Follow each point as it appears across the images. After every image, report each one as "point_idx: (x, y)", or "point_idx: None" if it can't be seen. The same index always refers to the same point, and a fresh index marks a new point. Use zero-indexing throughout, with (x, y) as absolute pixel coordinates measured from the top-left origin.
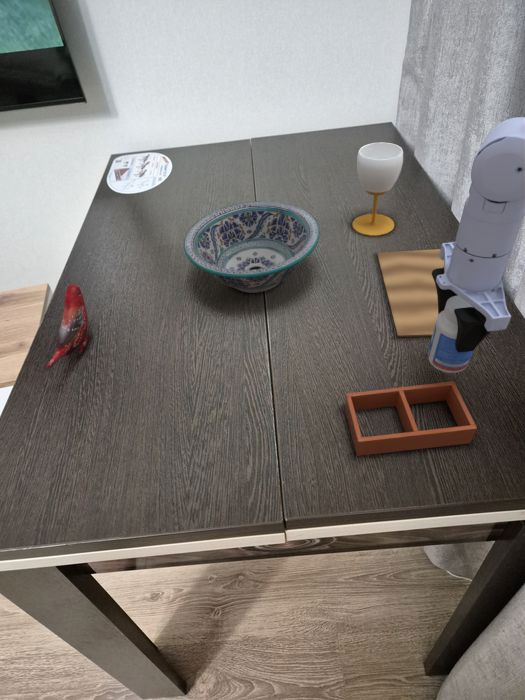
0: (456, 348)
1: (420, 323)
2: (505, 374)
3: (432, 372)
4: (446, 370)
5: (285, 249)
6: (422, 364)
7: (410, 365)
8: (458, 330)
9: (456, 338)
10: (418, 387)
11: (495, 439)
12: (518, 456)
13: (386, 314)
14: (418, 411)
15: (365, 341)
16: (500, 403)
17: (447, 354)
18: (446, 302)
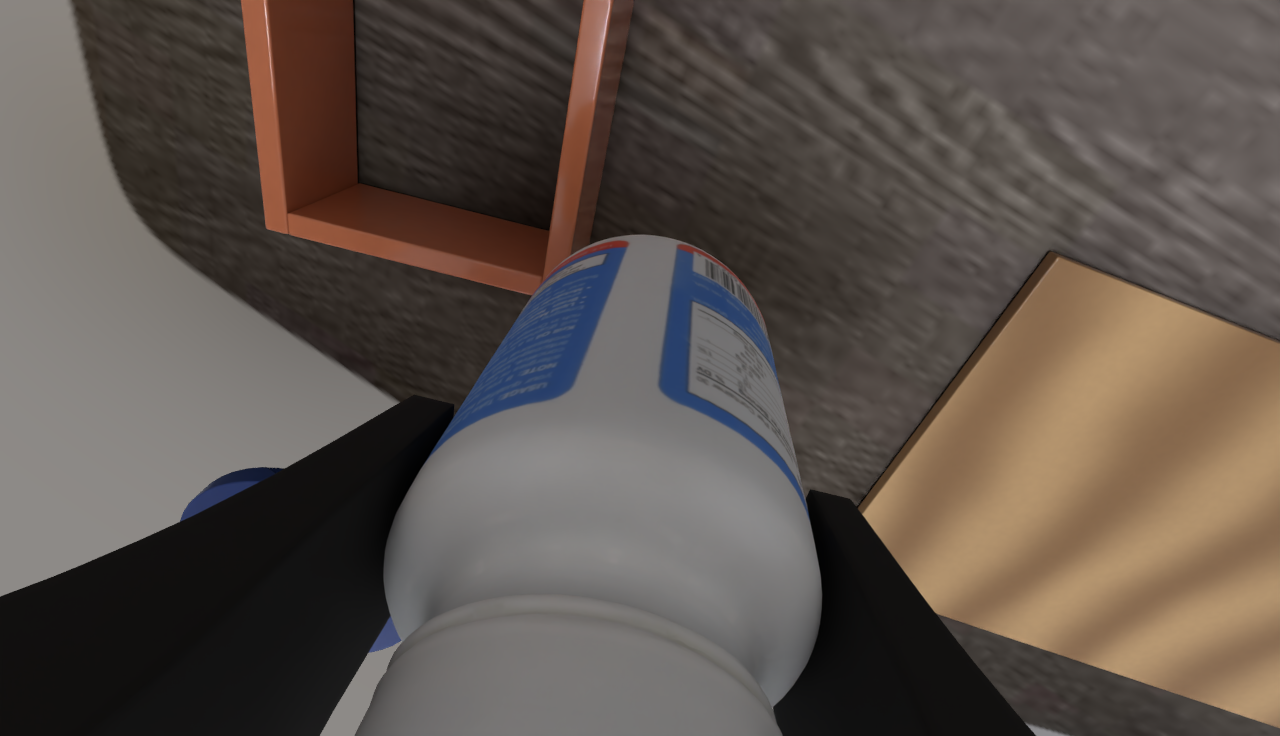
0: (421, 407)
1: (1043, 403)
2: None
3: (742, 276)
4: (541, 283)
5: None
6: (809, 263)
7: (835, 203)
8: (229, 571)
9: (368, 471)
10: (579, 90)
11: (351, 296)
12: (275, 321)
13: (1251, 293)
14: (549, 69)
15: (1176, 42)
16: None
17: (515, 332)
18: (862, 711)
